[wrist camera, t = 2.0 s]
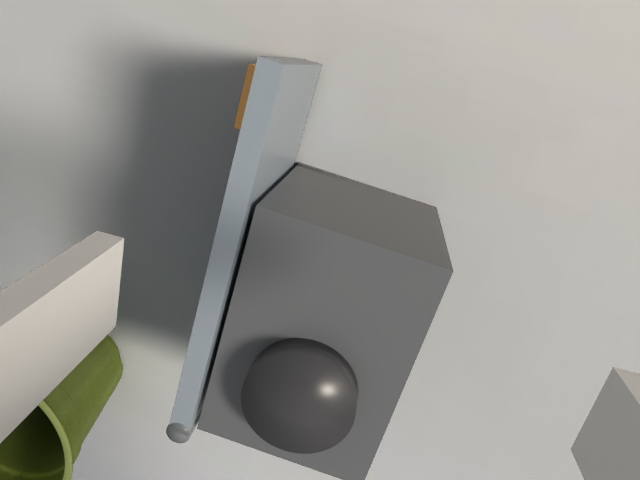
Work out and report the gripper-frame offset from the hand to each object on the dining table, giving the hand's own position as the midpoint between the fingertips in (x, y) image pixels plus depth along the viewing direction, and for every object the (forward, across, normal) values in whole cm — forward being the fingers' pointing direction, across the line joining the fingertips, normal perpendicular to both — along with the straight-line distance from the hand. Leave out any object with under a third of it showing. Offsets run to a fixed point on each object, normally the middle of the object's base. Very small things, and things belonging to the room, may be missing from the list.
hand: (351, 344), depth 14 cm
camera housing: (+24, 0, +9) cm, 25 cm away
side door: (+23, +7, +5) cm, 25 cm away
